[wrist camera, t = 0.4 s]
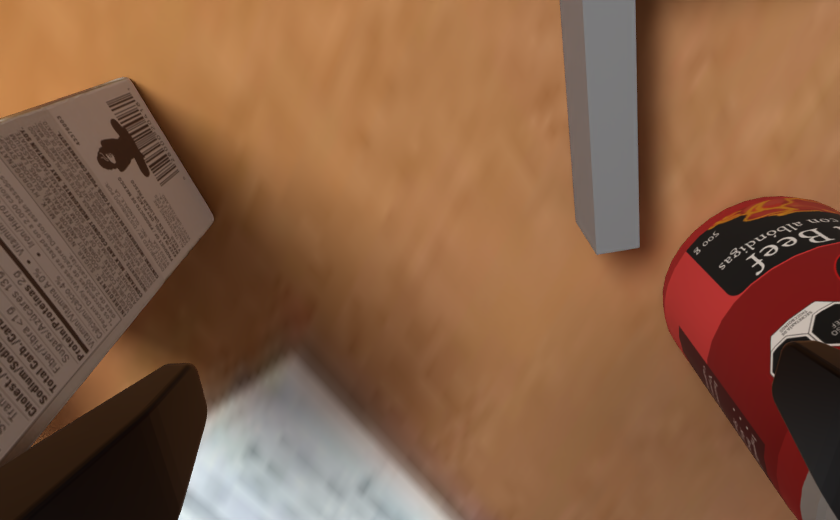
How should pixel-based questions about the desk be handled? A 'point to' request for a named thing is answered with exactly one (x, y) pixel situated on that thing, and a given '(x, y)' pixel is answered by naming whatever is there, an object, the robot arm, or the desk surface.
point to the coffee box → (81, 243)
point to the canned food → (758, 320)
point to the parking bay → (603, 119)
